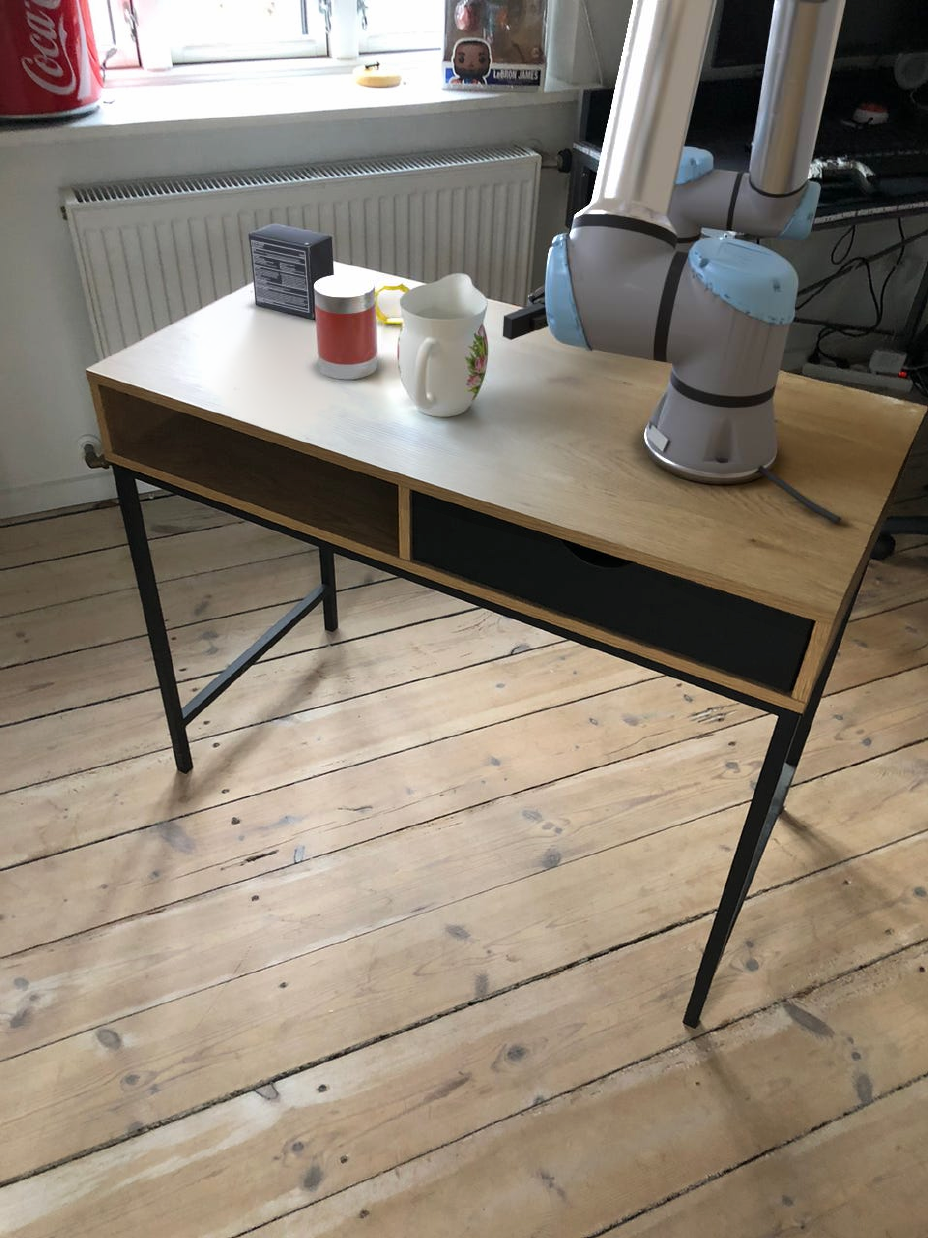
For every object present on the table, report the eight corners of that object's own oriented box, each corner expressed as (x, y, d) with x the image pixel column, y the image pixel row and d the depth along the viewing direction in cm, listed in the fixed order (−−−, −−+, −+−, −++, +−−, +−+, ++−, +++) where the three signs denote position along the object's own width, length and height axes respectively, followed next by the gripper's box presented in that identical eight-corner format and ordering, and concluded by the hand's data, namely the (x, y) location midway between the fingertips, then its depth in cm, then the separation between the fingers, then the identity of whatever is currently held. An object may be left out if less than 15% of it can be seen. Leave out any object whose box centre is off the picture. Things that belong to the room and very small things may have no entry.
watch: (416, 320, 148) (416, 280, 144) (413, 328, 146) (412, 287, 142) (376, 317, 148) (375, 276, 145) (371, 324, 146) (370, 283, 142)
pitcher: (374, 435, 121) (370, 324, 113) (418, 370, 135) (418, 267, 126) (463, 449, 119) (467, 337, 111) (499, 382, 133) (505, 278, 124)
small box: (338, 305, 151) (335, 233, 145) (313, 320, 147) (308, 247, 140) (279, 291, 155) (273, 220, 148) (253, 305, 150) (246, 233, 144)
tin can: (389, 368, 135) (387, 286, 128) (343, 385, 131) (339, 302, 124) (352, 349, 140) (349, 269, 133) (307, 365, 135) (301, 283, 129)
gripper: (659, 323, 141) (543, 372, 128) (587, 295, 148) (470, 339, 135) (667, 269, 136) (547, 315, 123) (592, 242, 144) (472, 283, 131)
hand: (507, 327), depth 129 cm, fingers closed
